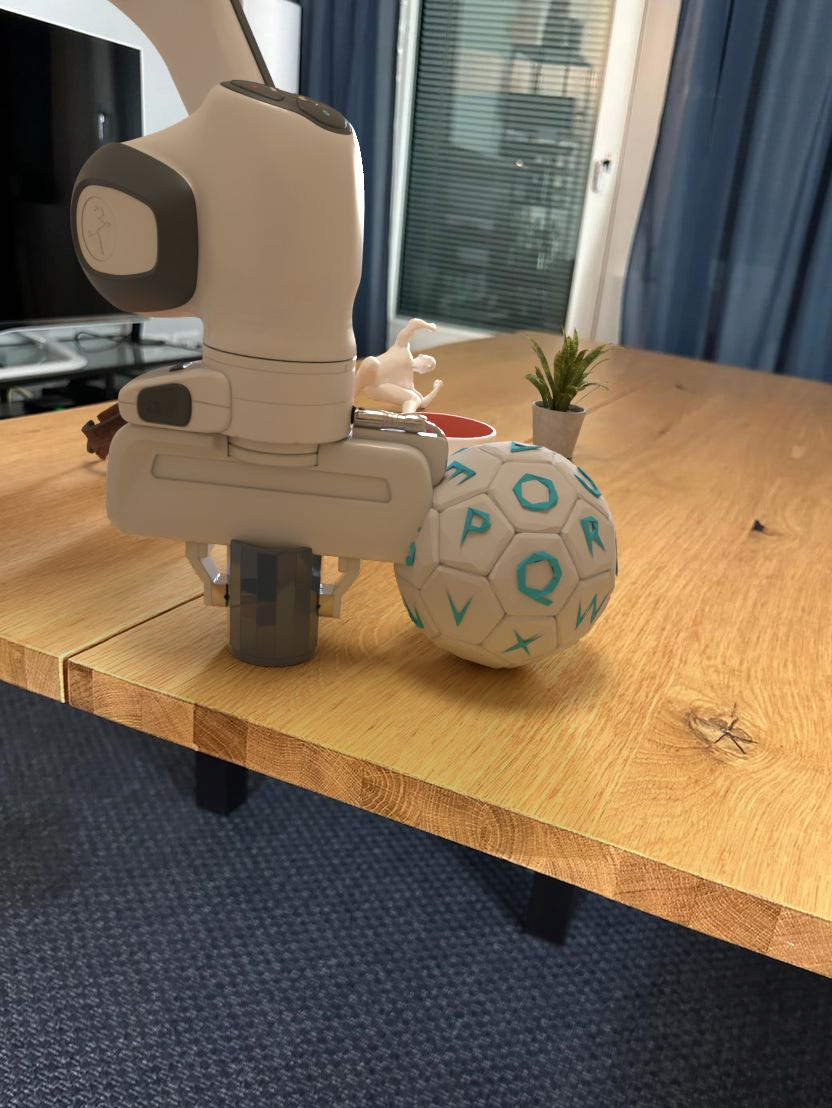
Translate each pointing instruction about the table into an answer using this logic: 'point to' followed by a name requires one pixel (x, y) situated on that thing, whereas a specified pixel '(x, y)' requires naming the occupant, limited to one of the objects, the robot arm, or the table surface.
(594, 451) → the table surface
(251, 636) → the slate cup
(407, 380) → the person figurine
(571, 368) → the house plant
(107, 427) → the dark brown jagged part
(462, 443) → the cup
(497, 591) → the puzzle ball
